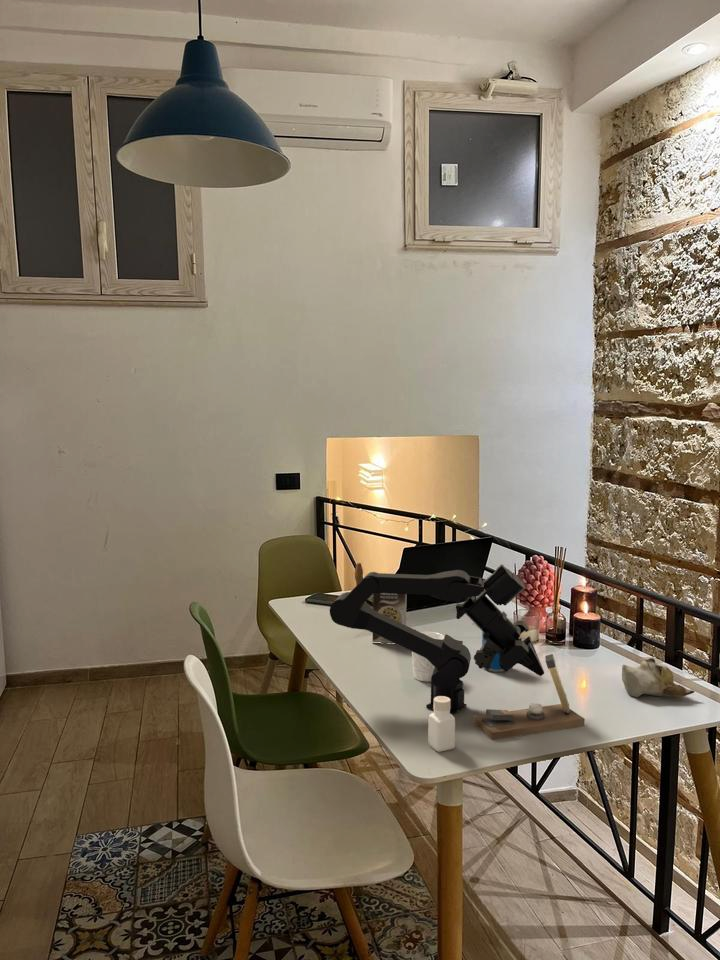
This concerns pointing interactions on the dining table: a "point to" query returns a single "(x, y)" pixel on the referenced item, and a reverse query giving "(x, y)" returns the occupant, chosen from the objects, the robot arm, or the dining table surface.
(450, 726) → the white pill bottle
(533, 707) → the push button
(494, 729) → the switch panel
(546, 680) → the dining table surface
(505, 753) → the dining table surface
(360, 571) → the hand bell
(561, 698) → the tan capped bar
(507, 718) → the rocker switch
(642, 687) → the ceramic sculpture
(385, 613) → the coffee box
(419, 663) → the white cup
